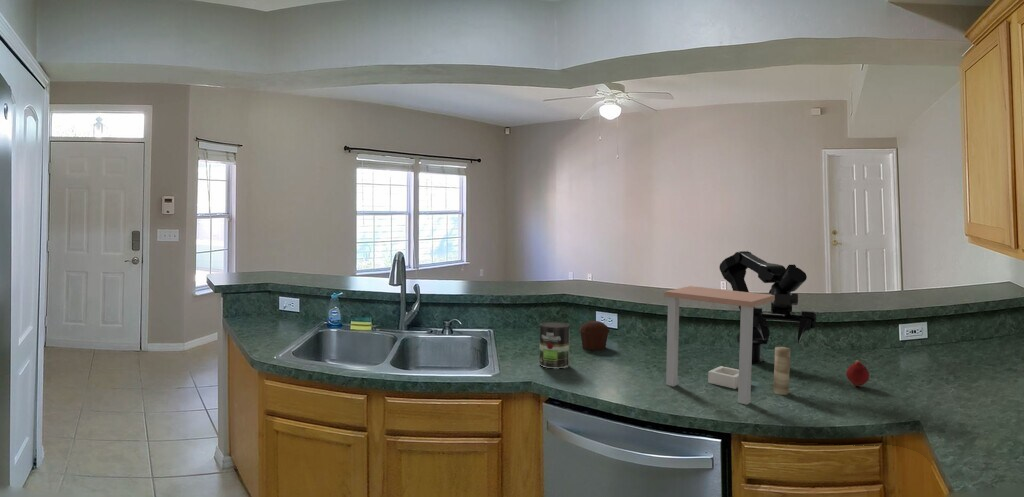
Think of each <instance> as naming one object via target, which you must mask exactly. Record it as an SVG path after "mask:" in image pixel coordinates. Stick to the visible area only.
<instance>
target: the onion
mask: <svg viewBox="0 0 1024 497" xmlns="http://www.w3.org/2000/svg"><path fill="white" fill-rule="evenodd" d="M854 361H855V363H854V362H853V363H852V364H850V365H849V367H848V368H847V369H846V377H847V380H848V381H849V382H850V383H852V384H853V386H855V385H856V386H859V387H860V386H863V385H865V384H866V383H867V382H868V381H869V380H870V373H869V370H868V368H867V367H866V366H865V365H864V364H862V362H860V360H857V359H856V360H854ZM856 386H855V387H856Z"/></svg>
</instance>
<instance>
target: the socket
mask: <svg viewBox="0 0 1024 497" xmlns="http://www.w3.org/2000/svg"><path fill="white" fill-rule="evenodd" d="M707 373H708V376H707V378H708V379H707V383H708V384H712V385H717V386H722V387H725V388H729V389H734V390H736V389H738V384H739V368H738V369H737V368H733V367H728V366H727V367H726V366H722V365H720V366H718V367H715V368H713V369H711V370H709V371H708V372H707Z"/></svg>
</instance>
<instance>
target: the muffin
mask: <svg viewBox="0 0 1024 497" xmlns="http://www.w3.org/2000/svg"><path fill="white" fill-rule="evenodd" d="M578 331H579V333H580V338H581V339H580V340H581V345H582V349H583V350H584V349H585V350H587V351H593V352H595V351H603V350H606V346H607V341H608V335H609V333H610V332H611V330H610V328H609V327H608V325H606V324H605V323H604V322H601V321H598V320H590V321H586V322H585V323H583V324H582V325H581V326H580V327H579V329H578Z"/></svg>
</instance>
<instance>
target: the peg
mask: <svg viewBox="0 0 1024 497" xmlns="http://www.w3.org/2000/svg"><path fill="white" fill-rule="evenodd" d="M790 367H791V348H789V347H785V346H775V347H774V366H773V368H774V370H773V393H774V394H777V395H780V396H787V395H789V394H790Z"/></svg>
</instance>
